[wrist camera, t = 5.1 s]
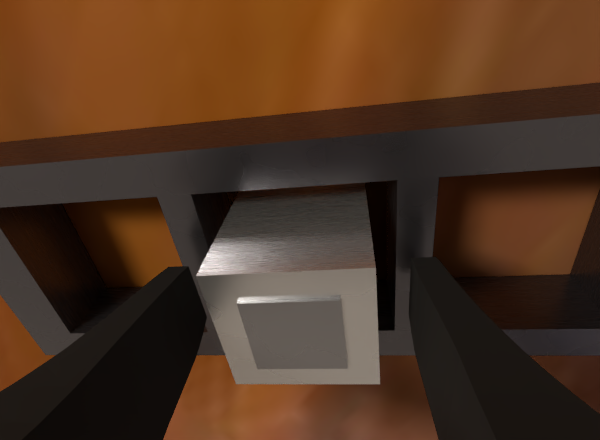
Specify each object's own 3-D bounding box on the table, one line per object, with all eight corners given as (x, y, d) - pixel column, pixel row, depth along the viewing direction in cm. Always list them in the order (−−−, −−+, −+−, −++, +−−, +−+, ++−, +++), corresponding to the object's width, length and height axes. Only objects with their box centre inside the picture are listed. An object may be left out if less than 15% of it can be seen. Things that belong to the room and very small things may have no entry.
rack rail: (714, 71, 9) (823, 93, 7) (613, 298, 13) (663, 355, 11) (-18, 144, 12) (-90, 174, 10) (83, 309, 17) (46, 354, 15)
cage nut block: (363, 169, 12) (376, 270, 7) (367, 265, 14) (380, 388, 9) (244, 179, 12) (194, 278, 8) (266, 270, 14) (235, 387, 10)
